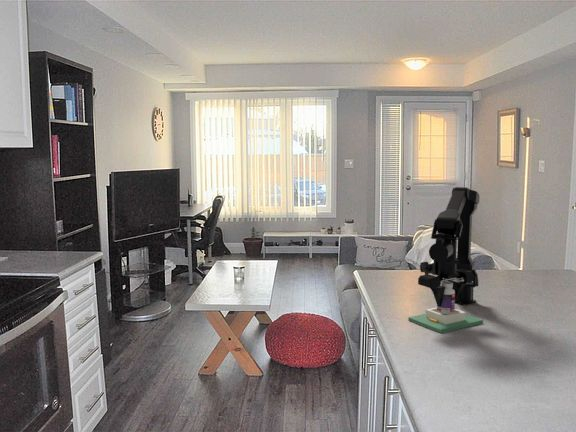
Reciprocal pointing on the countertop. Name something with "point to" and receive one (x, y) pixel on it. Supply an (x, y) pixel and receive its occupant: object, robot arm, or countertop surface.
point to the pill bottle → (447, 299)
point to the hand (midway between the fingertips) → (445, 304)
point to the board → (445, 320)
